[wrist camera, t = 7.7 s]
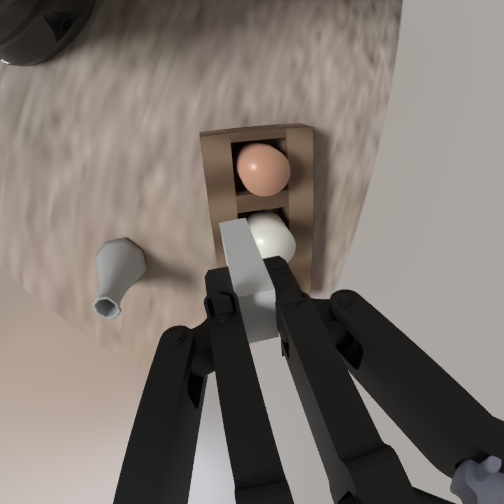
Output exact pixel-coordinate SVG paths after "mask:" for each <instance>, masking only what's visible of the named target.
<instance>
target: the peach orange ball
mask: <svg viewBox="0 0 504 504" xmlns="http://www.w3.org/2000/svg"><path fill="white" fill-rule="evenodd" d="M235 168H236V171H237V173H238V175H239V176H240V178H241V180H242V182H243V184H244V185H245V187H246V188H247V189H248V190H249V191H250V192H251V193H253V194H255V195H258V196H271V195H274V194H276V193H278V192H280V191H281V190H282V189H283V188H284V187H285V186H286V184H287V183H288V180H289V178H290V165H289V162H288V160H287V158H286V157H285V156H284V155H283V154H282V153H281V152H279V151H278V150H276V149H275V148H273V147H272V146H271V145H269V144H267V143H266V142H263V141H251V142H248V143H246V144H245V145H243V146H242V147H241V148H240V149H239V151H238V152H237V154H236V157H235Z"/></svg>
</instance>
